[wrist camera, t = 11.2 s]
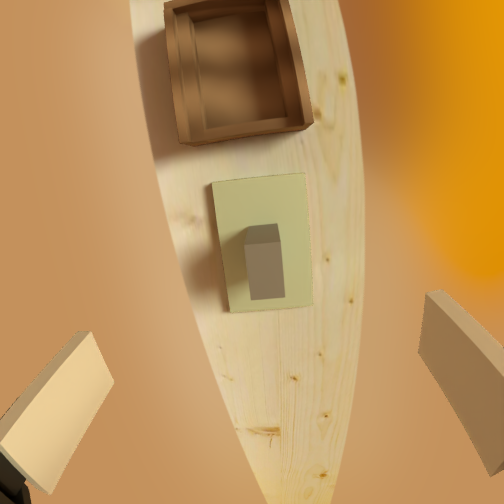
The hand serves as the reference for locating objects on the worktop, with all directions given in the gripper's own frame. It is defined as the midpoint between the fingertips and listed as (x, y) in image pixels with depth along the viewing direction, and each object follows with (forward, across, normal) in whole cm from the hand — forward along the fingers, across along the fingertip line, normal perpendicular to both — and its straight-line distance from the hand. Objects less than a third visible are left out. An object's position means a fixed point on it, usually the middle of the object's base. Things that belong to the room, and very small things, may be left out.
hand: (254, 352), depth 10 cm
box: (+24, 0, +17) cm, 29 cm away
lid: (+24, 0, -3) cm, 24 cm away
